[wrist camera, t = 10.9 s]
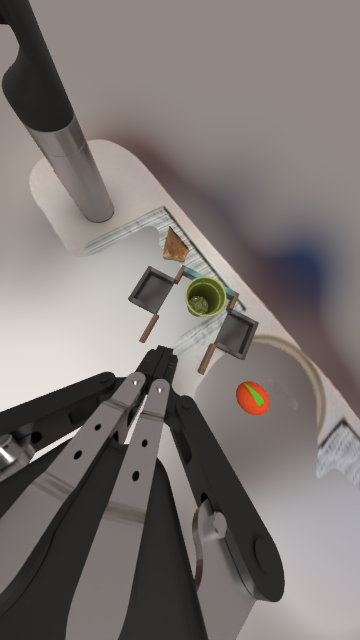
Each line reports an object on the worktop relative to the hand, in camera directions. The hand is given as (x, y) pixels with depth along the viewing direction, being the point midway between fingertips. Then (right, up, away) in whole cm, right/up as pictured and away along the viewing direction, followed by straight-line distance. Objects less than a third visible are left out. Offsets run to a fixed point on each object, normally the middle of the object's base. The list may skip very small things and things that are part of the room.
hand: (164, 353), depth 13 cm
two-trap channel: (+5, +4, +24) cm, 24 cm away
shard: (-1, +26, +28) cm, 38 cm away
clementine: (+18, -15, +22) cm, 32 cm away
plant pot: (+7, +7, +25) cm, 27 cm away
